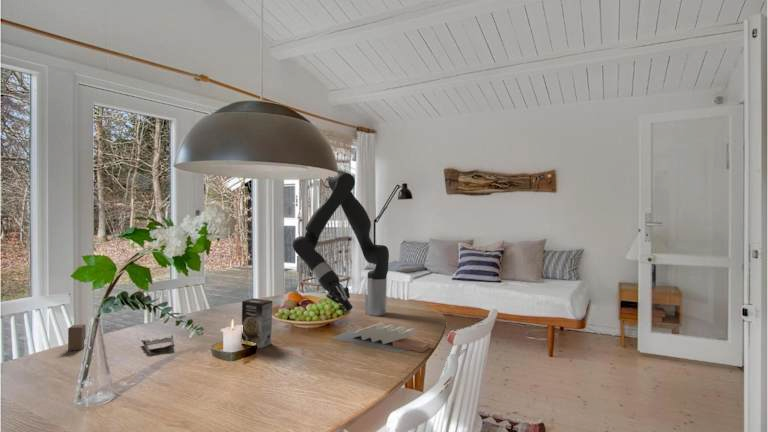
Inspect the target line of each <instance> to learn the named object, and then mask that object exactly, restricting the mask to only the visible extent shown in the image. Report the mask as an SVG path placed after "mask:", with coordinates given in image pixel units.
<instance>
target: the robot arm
mask: <svg viewBox="0 0 768 432" xmlns="http://www.w3.org/2000/svg"><path fill="white" fill-rule="evenodd" d="M355 180H356V179H355V177H354V175H352V174H351V173H349V172H347V171H343V170H338V175H337V176H335V175H334V177H330V176H329V175H328V177H327V183H328V186H329V188H330V189H331V194H330V196H329V197H328V198H327V199H326V200H325V202H324V203H322V205H320V206H319V207H318V208H317V209H316V210H315V211H314V212H313V214H312V215H311V217H310V218H309V220H308V222H307V223H306V226H305V230H306V232H305V235H304V236H301V235H300V236H297V237H295V239H294V240H293V241H292V248H293V250H294V252H295V253H296V254H297V256H299V258H300V259H302V260H303V262H304V263H305V264H306V266H307V267H308V268H309V270H310V272H312V274H313V275H314V277H315V279H316V280H317V282H318V283H319V285H320V286H321V287H322V288H323V290H324V291H327V294H326V297H327V298H328V299H329V300H331V301H333V302H334V303H336V304H338V305H339V304H340V305H342V306H343V308H345V310H346V311H347V312H349V311H351V310H352V309H353V305H352V304H351V302H350V301H349V299H350V298H351V296H350V290H349V287H348V286H346V287H344V286H343V284H341V283H340V278H339V276H338V275H337V273H336V272H335V270H333V268H332V267H331V265H330V264H329V263H328V262H327V260H326V259H325V258H324V257H323V256H322V255H321V253H319V252H318V251H316V247H317V244H318V242H319V239H320V236H321V234H322V232H323V230H324V229H325V228H326V226H327V224H328V222H329V220H330V219H331V218H332V216H333V215H334V213H335V212H336V211H337V209H338V208H339V207H340V206H341V208H342V211H343V212H344V214H345V217H346V219H347V222H348V223H349V225H350V227H351V229H352V231H353V233H354V235H355V238H356V240H357V242H358V243H359V246H360V247H359V248H360V249H361V252H362V255H363V257H364V259H365V261H366V262H367V263H368V264H373V265H375V268H374V269H372V270H369V271H368V272H367V282H366V283H367V288H366V290H367V292H366V293H365V302H364V303H365V308H364V310H365V311H364V312H365V313H364V314H367V315H369V316H376V317H377V316H380V317H381V316H384V315H386V314H387V277H388V276H387V275H388V273H389V272H388V271H389V261H390V252H389V248H388V247H387V246H386V245H383V244H374V243H373V240H372V239H371V237H370V233H371V232H370V231H371V227H372V224H371V223H372V222H371V219H370V217H369V215H368V213H367V211H366V208H365V207H364V206H363V205H362V203H360V202H359V200H358V199H357V197H355V195H354V194H353V190H354V188H355V185H356V181H355Z"/></svg>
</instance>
